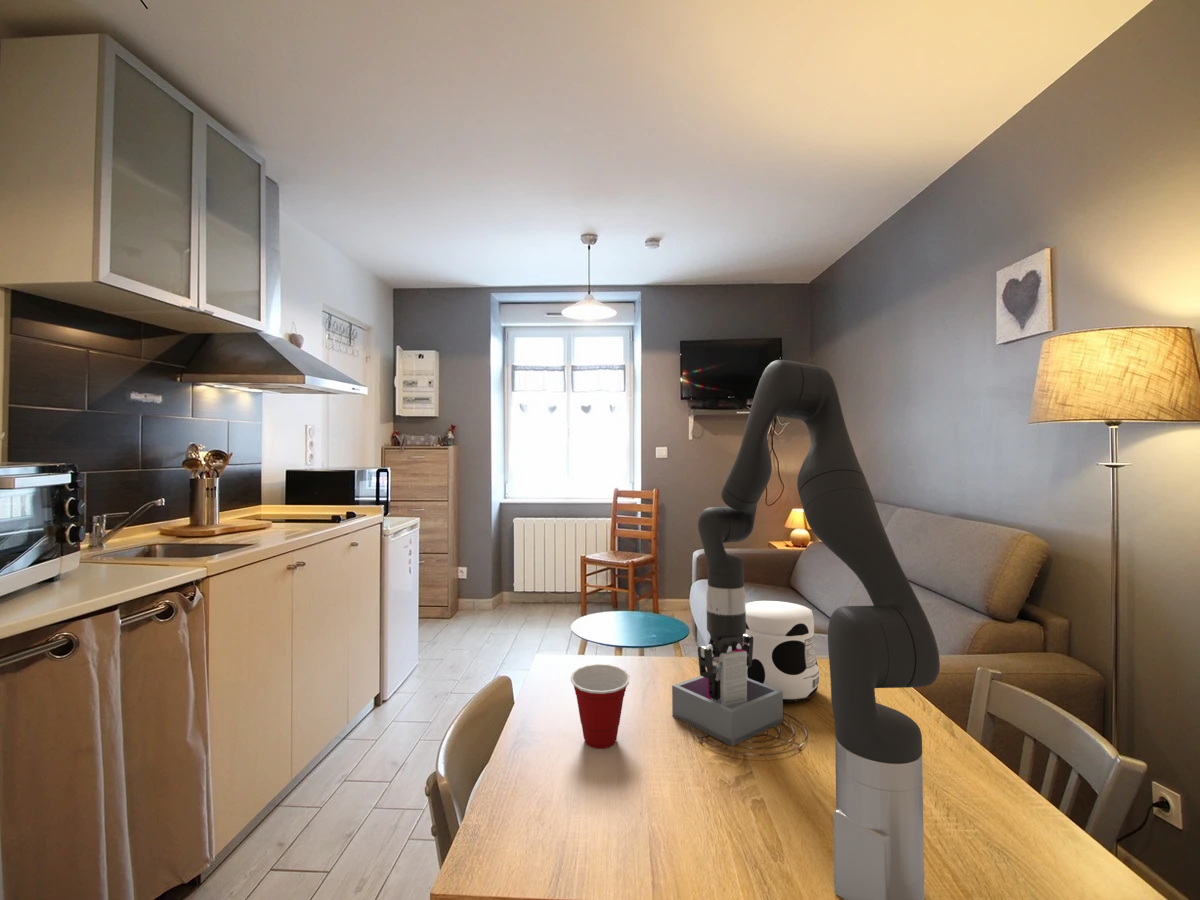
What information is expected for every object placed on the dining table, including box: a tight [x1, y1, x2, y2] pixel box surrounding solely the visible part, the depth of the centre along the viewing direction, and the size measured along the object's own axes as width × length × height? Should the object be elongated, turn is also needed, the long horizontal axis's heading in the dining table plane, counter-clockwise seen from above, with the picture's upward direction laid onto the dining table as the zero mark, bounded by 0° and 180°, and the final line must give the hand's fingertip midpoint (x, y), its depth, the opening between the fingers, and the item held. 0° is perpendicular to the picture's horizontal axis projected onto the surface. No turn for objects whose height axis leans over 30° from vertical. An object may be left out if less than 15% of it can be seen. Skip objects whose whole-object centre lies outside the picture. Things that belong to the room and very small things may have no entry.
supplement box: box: [707, 649, 747, 709], centre depth 110 cm, size 6×6×12 cm
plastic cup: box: [569, 663, 631, 750], centre depth 101 cm, size 11×11×12 cm
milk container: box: [745, 600, 820, 703], centre depth 123 cm, size 17×17×18 cm
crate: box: [671, 675, 784, 747], centre depth 110 cm, size 15×15×6 cm
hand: (726, 693), depth 109 cm, fingers closed on supplement box, 6 cm apart
